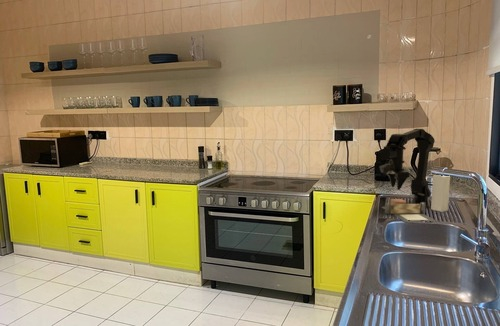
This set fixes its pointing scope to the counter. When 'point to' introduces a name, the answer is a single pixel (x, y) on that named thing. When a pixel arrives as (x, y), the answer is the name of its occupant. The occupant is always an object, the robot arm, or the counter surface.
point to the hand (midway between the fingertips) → (395, 188)
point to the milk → (440, 193)
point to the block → (397, 201)
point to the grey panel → (412, 217)
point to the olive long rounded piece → (422, 208)
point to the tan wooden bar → (404, 208)
